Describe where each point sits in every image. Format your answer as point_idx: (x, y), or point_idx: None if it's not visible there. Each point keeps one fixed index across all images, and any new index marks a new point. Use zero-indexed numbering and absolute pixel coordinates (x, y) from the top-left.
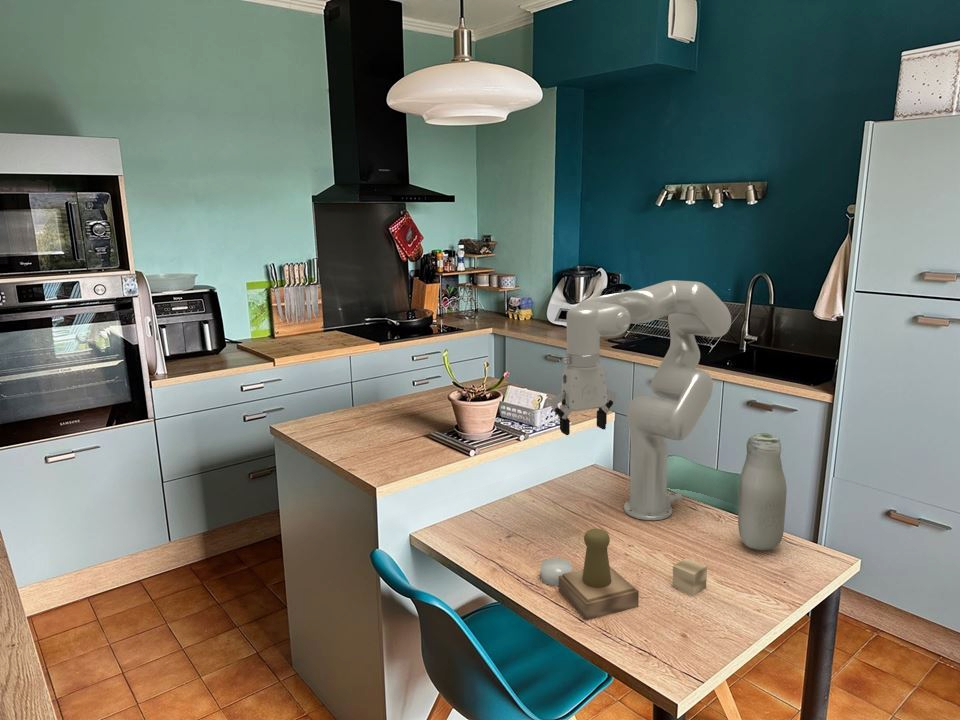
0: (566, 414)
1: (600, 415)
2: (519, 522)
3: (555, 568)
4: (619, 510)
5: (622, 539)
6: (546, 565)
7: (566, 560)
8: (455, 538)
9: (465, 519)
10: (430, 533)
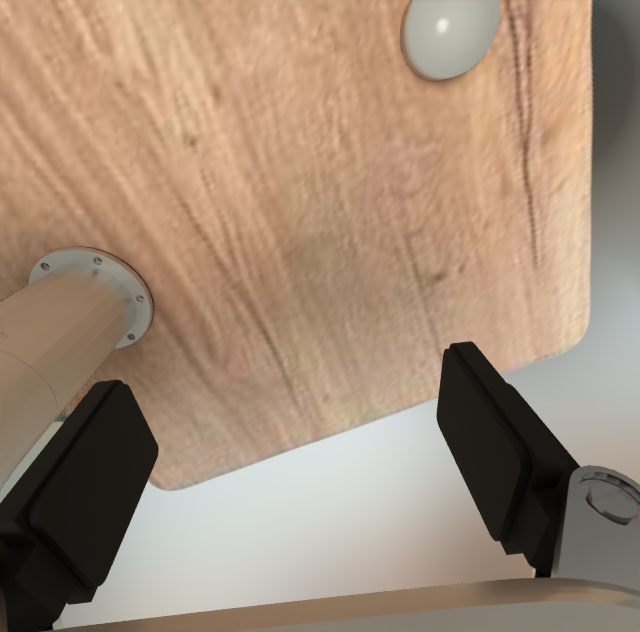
0: (613, 531)
1: (79, 517)
2: (390, 326)
3: (464, 6)
4: (163, 319)
5: (200, 181)
6: (477, 37)
7: (413, 47)
8: (535, 299)
9: None
10: (563, 331)
